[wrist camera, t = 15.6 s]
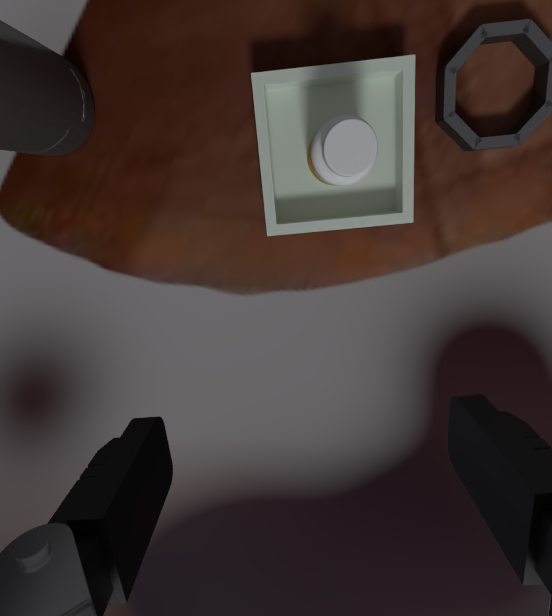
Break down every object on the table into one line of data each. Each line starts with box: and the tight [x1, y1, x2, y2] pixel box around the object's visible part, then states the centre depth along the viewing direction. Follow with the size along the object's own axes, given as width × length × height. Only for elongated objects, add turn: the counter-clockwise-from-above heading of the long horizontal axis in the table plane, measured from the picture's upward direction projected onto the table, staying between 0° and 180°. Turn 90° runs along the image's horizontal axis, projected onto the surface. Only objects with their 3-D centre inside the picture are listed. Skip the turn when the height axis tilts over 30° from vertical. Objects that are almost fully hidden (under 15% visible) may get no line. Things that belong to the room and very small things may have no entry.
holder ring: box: [435, 19, 552, 151], centre depth 36 cm, size 10×10×2 cm
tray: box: [251, 55, 415, 236], centre depth 37 cm, size 14×14×3 cm
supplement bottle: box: [307, 114, 378, 186], centre depth 33 cm, size 5×5×10 cm
